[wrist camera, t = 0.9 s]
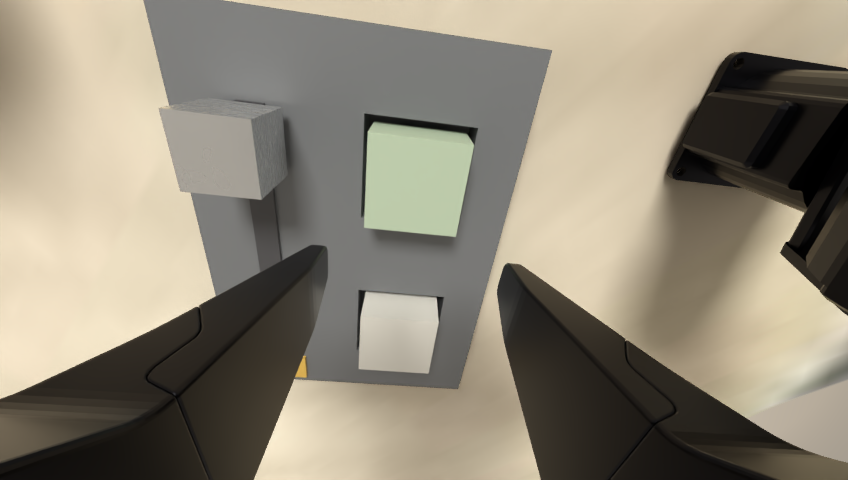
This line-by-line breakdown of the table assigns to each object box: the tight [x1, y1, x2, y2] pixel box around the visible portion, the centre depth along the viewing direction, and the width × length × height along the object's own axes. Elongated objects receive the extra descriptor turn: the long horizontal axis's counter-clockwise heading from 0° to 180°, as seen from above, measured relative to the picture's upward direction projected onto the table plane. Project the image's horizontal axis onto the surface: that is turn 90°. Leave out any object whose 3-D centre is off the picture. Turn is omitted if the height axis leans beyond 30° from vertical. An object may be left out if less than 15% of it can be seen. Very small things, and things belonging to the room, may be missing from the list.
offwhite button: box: [359, 290, 439, 374], centre depth 20 cm, size 4×4×2 cm
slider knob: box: [159, 98, 288, 200], centre depth 13 cm, size 3×3×3 cm
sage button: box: [364, 121, 474, 237], centre depth 15 cm, size 4×4×2 cm
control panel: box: [144, 0, 552, 389], centre depth 19 cm, size 16×22×3 cm
